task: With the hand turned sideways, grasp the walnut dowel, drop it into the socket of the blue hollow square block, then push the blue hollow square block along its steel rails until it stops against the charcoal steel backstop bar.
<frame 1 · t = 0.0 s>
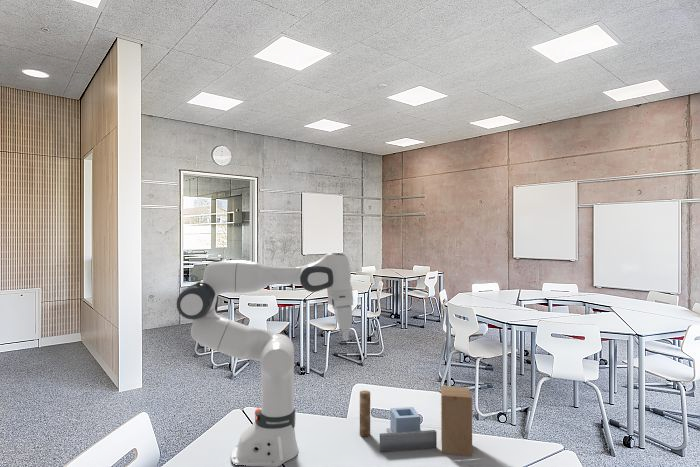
hand: (344, 336, 144), 39 cm above the table, tool pointing down, fingers open, 8 cm apart
backstop: (408, 450, 141), on the table
blue hollow square block: (404, 423, 153), point 4 cm above the table, slide at 0.0 cm
wooden block: (456, 449, 142), on the table
dowel: (364, 435, 152), on the table
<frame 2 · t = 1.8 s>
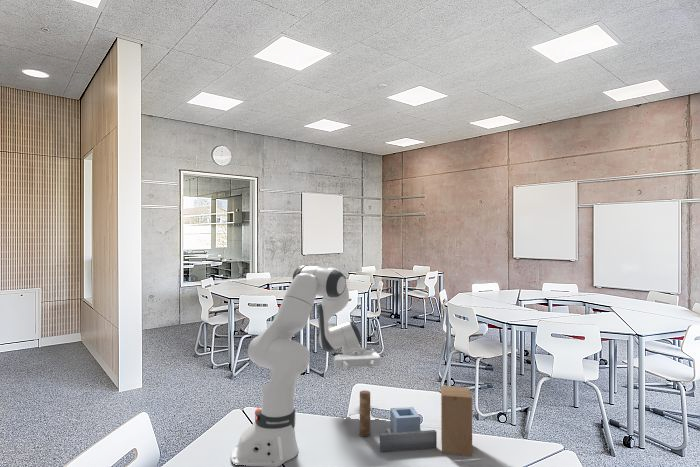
hand: (359, 366, 164), 22 cm above the table, tool horizontal, fingers open, 8 cm apart
nothing on the table moved.
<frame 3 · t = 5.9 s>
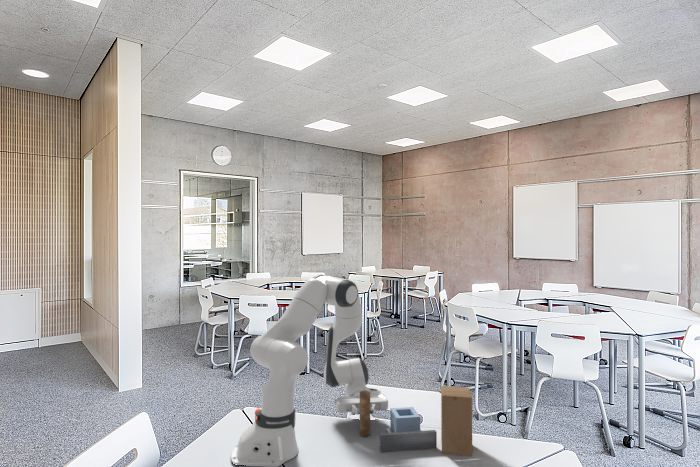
hand: (365, 412, 151), 9 cm above the table, tool horizontal, fingers closed on dowel, 4 cm apart
dowel: (364, 435, 152), on the table, touching gripper
everything else where it was.
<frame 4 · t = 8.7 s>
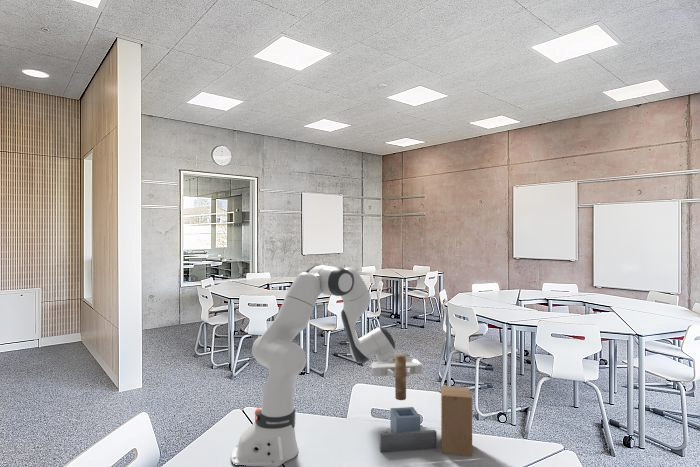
hand: (401, 374, 152), 23 cm above the table, tool horizontal, fingers closed on dowel, 4 cm apart
dowel: (400, 398, 153), point 13 cm above the table, touching gripper
everything else where it was.
when the fingers open (13 cm above the table, at t = 11.4 s): dowel drops 1 cm, resting on blue hollow square block.
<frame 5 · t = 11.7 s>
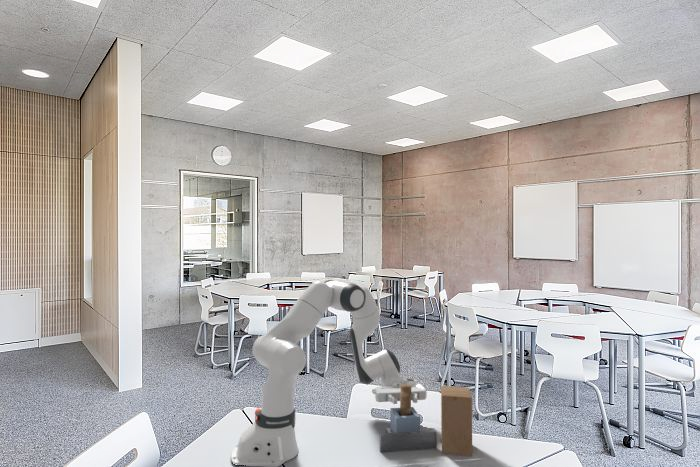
hand: (405, 401, 152), 13 cm above the table, tool horizontal, fingers open, 6 cm apart
blue hollow square block: (404, 423, 153), point 4 cm above the table, slide at 0.0 cm, touching dowel
dowel: (404, 428, 153), point 2 cm above the table, touching blue hollow square block
everything else where it was.
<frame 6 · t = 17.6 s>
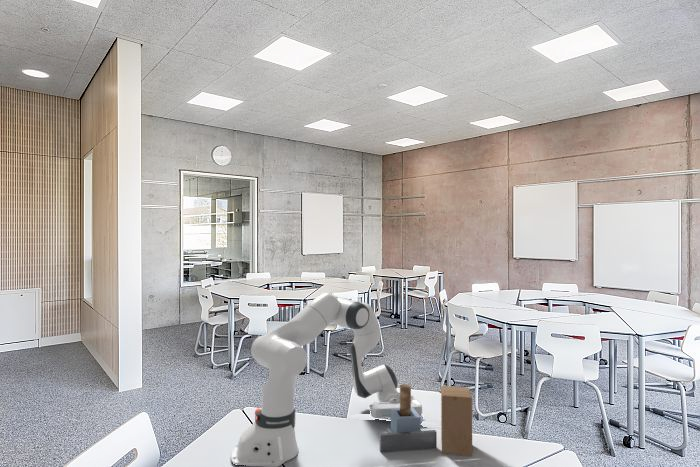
hand: (401, 417, 157), 5 cm above the table, tool horizontal, fingers closed, pressing on blue hollow square block
blue hollow square block: (405, 423, 152), point 4 cm above the table, slide at 0.6 cm, touching dowel, gripper
everything else where it was.
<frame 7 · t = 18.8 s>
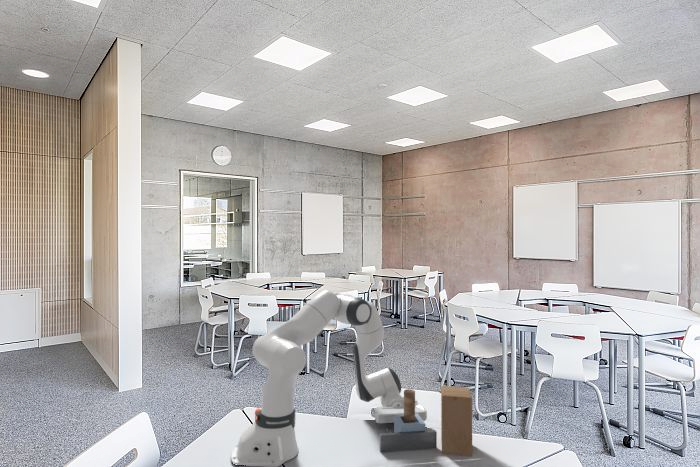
hand: (405, 423, 151), 5 cm above the table, tool horizontal, fingers closed
blue hollow square block: (409, 430, 147), point 4 cm above the table, slide at 5.9 cm, touching dowel
dowel: (409, 435, 147), point 2 cm above the table, touching blue hollow square block
everything else where it was.
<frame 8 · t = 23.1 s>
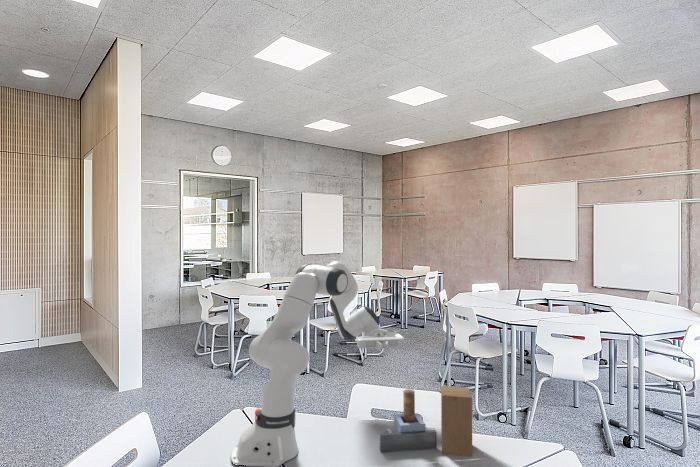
hand: (384, 346, 165), 30 cm above the table, tool horizontal, fingers closed
nothing on the table moved.
at the end: blue hollow square block slide at 6.0 cm; dowel 0.1 cm off-centre on the blue hollow square block, point 2.0 cm above the blue hollow square block's base; dowel tilted 1° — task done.
